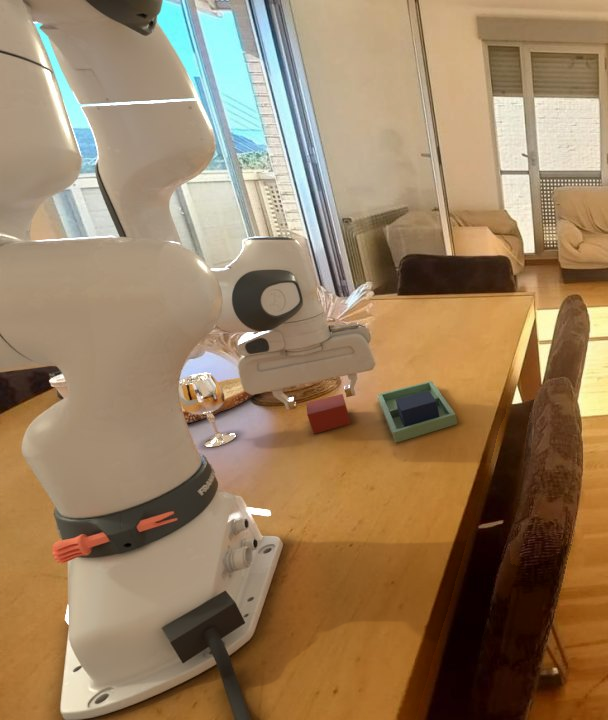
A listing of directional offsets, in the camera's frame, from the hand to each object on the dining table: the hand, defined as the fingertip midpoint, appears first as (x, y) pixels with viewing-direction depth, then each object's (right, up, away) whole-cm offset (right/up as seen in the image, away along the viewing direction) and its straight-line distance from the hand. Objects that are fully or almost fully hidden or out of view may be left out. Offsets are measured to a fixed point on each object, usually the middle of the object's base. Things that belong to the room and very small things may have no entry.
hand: (322, 401), depth 87 cm
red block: (+1, -4, +2) cm, 4 cm away
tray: (+16, -3, +4) cm, 16 cm away
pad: (+18, -3, +1) cm, 18 cm away
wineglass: (-16, -7, -3) cm, 18 cm away
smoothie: (-47, -4, +5) cm, 47 cm away
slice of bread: (-30, -2, +8) cm, 31 cm away
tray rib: (+16, -3, +4) cm, 16 cm away
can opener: (-62, 0, +15) cm, 64 cm away
